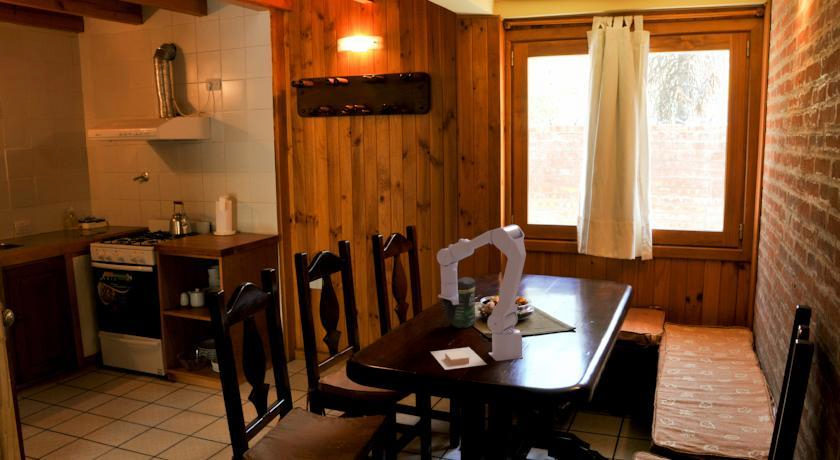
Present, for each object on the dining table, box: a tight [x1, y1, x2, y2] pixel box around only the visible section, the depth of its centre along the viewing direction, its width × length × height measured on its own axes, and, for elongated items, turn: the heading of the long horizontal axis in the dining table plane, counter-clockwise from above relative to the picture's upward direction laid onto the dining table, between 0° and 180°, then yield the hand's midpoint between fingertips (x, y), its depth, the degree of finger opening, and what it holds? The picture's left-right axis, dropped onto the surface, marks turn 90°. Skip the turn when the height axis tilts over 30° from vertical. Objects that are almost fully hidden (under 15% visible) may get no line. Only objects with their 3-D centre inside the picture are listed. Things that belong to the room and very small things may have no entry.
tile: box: [445, 351, 469, 365], centre depth 220 cm, size 6×2×7 cm
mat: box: [430, 346, 488, 371], centre depth 223 cm, size 14×18×1 cm
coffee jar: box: [451, 276, 477, 329], centre depth 259 cm, size 10×8×19 cm
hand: (450, 319), depth 235 cm, fingers closed
